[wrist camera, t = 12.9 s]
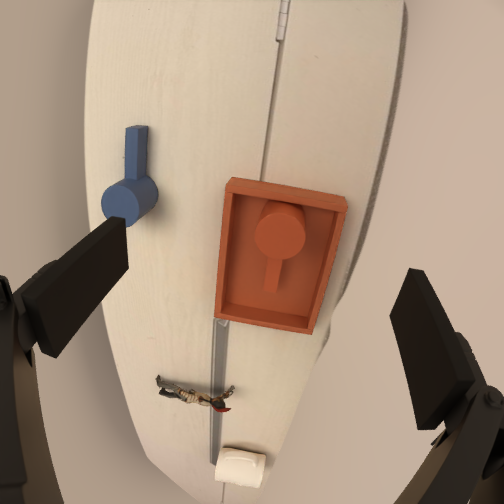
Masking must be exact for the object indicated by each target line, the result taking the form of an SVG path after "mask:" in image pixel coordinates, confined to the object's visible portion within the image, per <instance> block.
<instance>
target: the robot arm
mask: <svg viewBox="0 0 504 504" xmlns="http://www.w3.org/2000/svg"><path fill="white" fill-rule="evenodd" d="M128 269H129V265H128V252H127V238H126V220H125V218H122V217H115V216H111V217H110V218H108V219H107V220H106V221H105V222H103V223H102V224H101V225H100V226H98V227H97V228H96V229H94V230H93V231H92V232H91V233H89V234H88V235H87V236H86V237H85V238H83V239H82V240H81V241H80V242H78V243H77V244H76V245H75V246H74V247H73V248H71V249H70V250H69V251H68V252H66V253H65V254H64V255H63V256H62V257H61V258H59V259H58V260H54V261H52V262H50V263H48V264H46V265H44V266H43V267H42V268H41V269H40V270H39V271H38V272H37V273H35V274H34V275H33V276H32V278H30V279H28V280H27V281H26V282H25V283H24V284H23V285H22V286H21V287H20V288H19V289H17V291H15V292H14V293H13V294H12V291H11V288H10V285H9V282H8V279H7V278H6V277H5V276H1V275H0V504H64V501H63V498H62V495H61V492H60V489H59V485H58V482H57V478H56V475H55V471H54V467H53V464H52V460H51V455H50V451H49V447H48V442H47V438H46V433H45V428H44V423H43V417H42V412H41V405H40V398H39V391H38V383H37V375H36V366H35V354H34V351H33V348H32V347H33V345H34V344H35V343H36V342H38V345H39V347H40V350H41V352H42V353H44V354H47V355H49V356H51V357H53V358H57V357H58V356H59V354H60V353H61V352H62V350H63V349H64V348H65V346H66V345H67V344H68V343H69V341H70V340H71V338H72V337H73V336H74V335H75V333H76V332H77V331H78V330H79V328H80V327H81V325H83V323H84V322H85V321H86V319H87V318H88V317H89V316H90V314H91V313H92V312H93V311H94V309H95V308H96V307H97V306H98V305H99V303H100V302H101V301H102V300H103V298H104V297H105V296H106V295H107V294H108V292H109V291H110V290H111V289H112V288H113V286H114V285H115V284H116V283H117V282H118V281H119V279H120V278H121V277H122V276H123V275H124V273H125V272H126V271H127V270H128ZM390 319H391V323H392V326H393V330H394V333H395V336H396V340H397V344H398V347H399V351H400V355H401V359H402V363H403V366H404V370H405V374H406V378H407V383H408V387H409V391H410V396H411V400H412V404H413V409H414V414H415V419H416V423H417V429H418V430H435V429H436V428H437V427H438V425H440V424H441V422H442V421H443V420H444V423H445V427H446V429H445V430H444V431H443V432H442V433H441V434H440V435H439V436H438V437H437V438H436V439H435V440H434V441H433V442H432V443H431V445H432V446H433V445H434V446H433V448H432V449H431V451H430V452H429V454H428V456H427V457H426V459H425V460H424V462H423V463H422V465H421V466H420V468H419V470H418V471H417V472H416V474H415V475H414V477H413V478H412V480H411V481H410V482H409V484H408V485H407V487H406V488H405V490H404V491H403V492H402V493H401V495H400V496H399V498H398V499H397V500H396V501H395V503H394V504H467V503H468V501H469V499H470V501H469V504H504V397H503V395H502V393H501V392H500V391H499V390H498V389H496V388H495V387H492V386H489V385H487V384H486V381H485V379H484V376H483V374H482V372H481V369H480V367H479V365H478V362H477V361H476V360H475V356H474V354H473V353H472V349H471V347H470V345H469V343H468V341H467V340H466V339H465V338H464V337H463V335H462V334H461V333H459V332H455V331H454V329H453V327H452V325H451V323H450V321H449V319H448V317H447V314H446V313H445V310H444V308H443V307H442V305H441V303H440V301H439V299H438V297H437V295H436V293H435V291H434V289H433V287H432V285H431V284H430V282H429V280H428V278H427V276H426V274H425V273H424V271H423V270H418V269H412V268H409V270H408V272H407V275H406V277H405V280H404V282H403V285H402V287H401V290H400V292H399V295H398V297H397V299H396V302H395V304H394V306H393V309H392V311H391V313H390Z"/></svg>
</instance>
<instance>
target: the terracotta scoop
mask: <svg viewBox="0 0 504 504" xmlns="http://www.w3.org/2000/svg"><path fill="white" fill-rule="evenodd" d="M254 239H255V243H256V245H257V247H258V249H259V250H260V251H261V252H262V253H263V254H264V255H266V256H267V257H268V261H267V267H266V273H265V279H264V284H263V291H268V292H274V293H276V292H277V288H278V283H279V278H280V273H281V268H282V263H283V260H285V259H289V258H292V257H294V256H295V255H297V254H298V253H299V252H300V251H301V250H302V248H303V246H304V244H305V239H306V234H305V214H304V211H303V209H302V207H301V206H300V204H295V203H290V202H284V201H278V200H270V201H268V202H267V203H266V204H265V205H264V207H263V208H262V211H261V214H260V217H259V220H258V223H257V225H256V228H255V232H254Z"/></svg>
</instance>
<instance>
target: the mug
mask: <svg viewBox="0 0 504 504" xmlns="http://www.w3.org/2000/svg"><path fill="white" fill-rule="evenodd" d="M265 459H266V455H263V454H257V453H252V452H247V451H242V450H237V449H233V448H221V449H220V452H219V456H218V460H217V465H216V471H215V480H216V481H222V482H228V483H234V484H237V485H239V486H246V487H254V488H260V485H261V481H262V477H263V472H264V467H265Z"/></svg>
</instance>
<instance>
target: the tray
mask: <svg viewBox="0 0 504 504" xmlns="http://www.w3.org/2000/svg"><path fill="white" fill-rule="evenodd" d="M270 200H278V201H284V202H290V203H295V204H300V206H301V207H302V209H303V211H304V214H305V234H306V239H305V244H304V246H303V248H302V250H301V251H300V252H299V253H298V254H297V255H295V256H294V257H292V258H289V259H285V260H283V263H282V268H281V273H280V278H279V283H278V288H277V292H276V293H274V292H268V291H263V284H264V279H265V273H266V267H267V261H268V257H267V256H266V255H264V254H263V253H262V252H261V251H260V250H259V249H258V247H257V245H256V243H255V239H254V232H255V228H256V225H257V223H258V220H259V217H260V214H261V211H262V208H263V207H264V205H265V204H266V203H267V202H268V201H270ZM347 208H348V205H347V203H346V200H345V198H344V197H343V196H338V195H333V194H328V193H323V192H318V191H312V190H307V189H302V188H296V187H291V186H285V185H279V184H273V183H267V182H261V181H255V180H249V179H242V178H236V177H232V178H231V179H230V180H229V182H228V183H227V184H226V188H225V198H224V208H223V218H222V229H221V239H220V250H219V261H218V273H217V285H216V297H215V310H214V317H216V318H221V319H226V320H231V321H236V322H241V323H246V324H251V325H257V326H262V327H268V328H273V329H279V330H285V331H291V332H297V333H303V334H309V335H312V333H313V329H314V326H315V323H316V320H317V317H318V313H319V310H320V307H321V304H322V300H323V297H324V294H325V290H326V287H327V283H328V280H329V276H330V273H331V269H332V266H333V262H334V259H335V255H336V251H337V247H338V244H339V240H340V236H341V232H342V228H343V224H344V220H345V216H346V212H347Z"/></svg>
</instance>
